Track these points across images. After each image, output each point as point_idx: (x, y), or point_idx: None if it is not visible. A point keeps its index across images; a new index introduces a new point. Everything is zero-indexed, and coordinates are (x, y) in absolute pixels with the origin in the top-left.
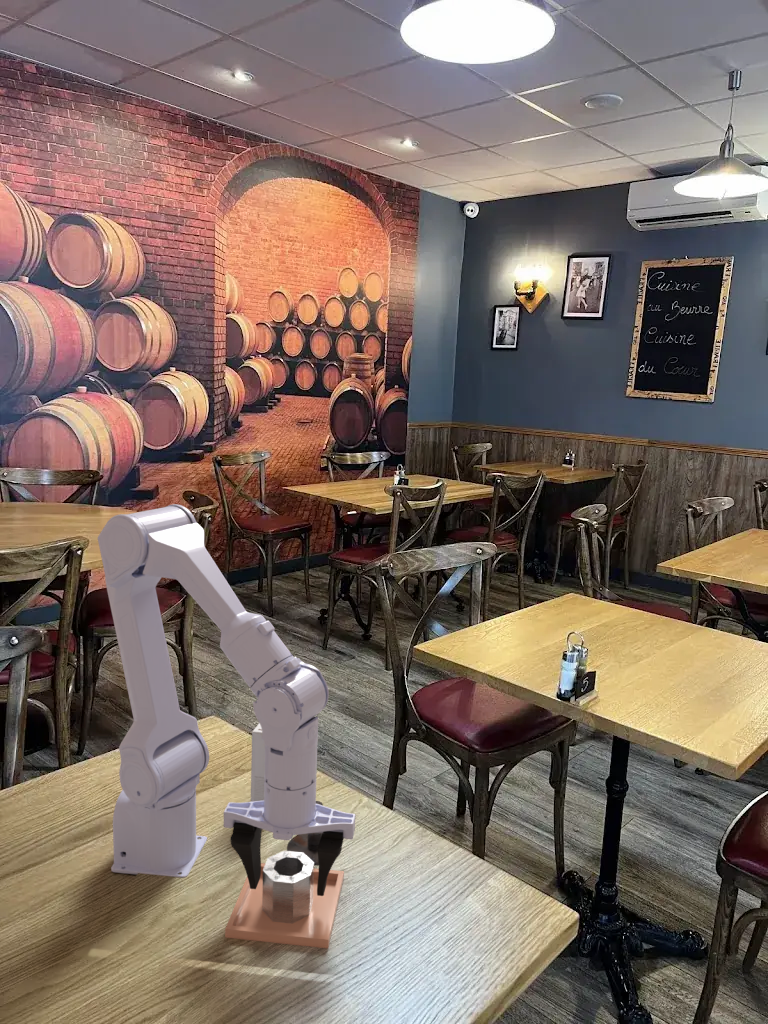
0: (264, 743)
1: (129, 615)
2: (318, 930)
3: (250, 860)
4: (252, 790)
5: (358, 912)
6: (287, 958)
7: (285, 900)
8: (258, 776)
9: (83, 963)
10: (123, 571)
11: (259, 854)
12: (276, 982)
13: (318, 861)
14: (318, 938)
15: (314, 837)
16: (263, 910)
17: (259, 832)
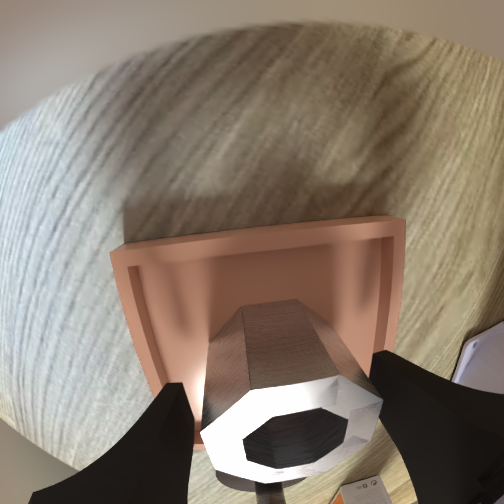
0: None
1: None
2: (165, 299)
3: (448, 402)
4: (387, 498)
5: (115, 371)
6: (217, 195)
7: (272, 339)
8: None
9: None
10: None
11: (398, 437)
12: (220, 113)
13: (135, 486)
14: (136, 249)
15: (267, 491)
16: (329, 323)
17: (430, 491)
